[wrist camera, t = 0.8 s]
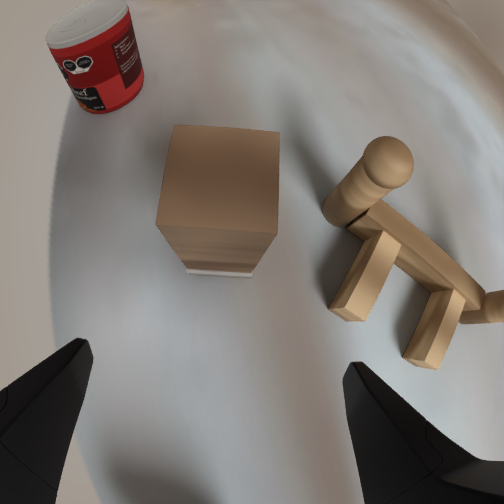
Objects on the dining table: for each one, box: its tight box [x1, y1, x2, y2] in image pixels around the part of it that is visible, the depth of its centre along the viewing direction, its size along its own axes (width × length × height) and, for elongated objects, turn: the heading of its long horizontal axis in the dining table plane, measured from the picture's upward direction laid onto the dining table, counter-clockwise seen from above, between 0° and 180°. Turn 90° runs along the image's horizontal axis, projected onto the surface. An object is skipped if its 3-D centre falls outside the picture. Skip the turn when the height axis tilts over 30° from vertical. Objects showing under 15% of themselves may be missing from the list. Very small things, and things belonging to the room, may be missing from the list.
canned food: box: [46, 0, 144, 114], centre depth 21 cm, size 8×8×11 cm
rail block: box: [156, 125, 280, 279], centre depth 17 cm, size 5×5×13 cm
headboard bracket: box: [322, 136, 504, 370], centre depth 19 cm, size 10×21×11 cm, turn 57°
